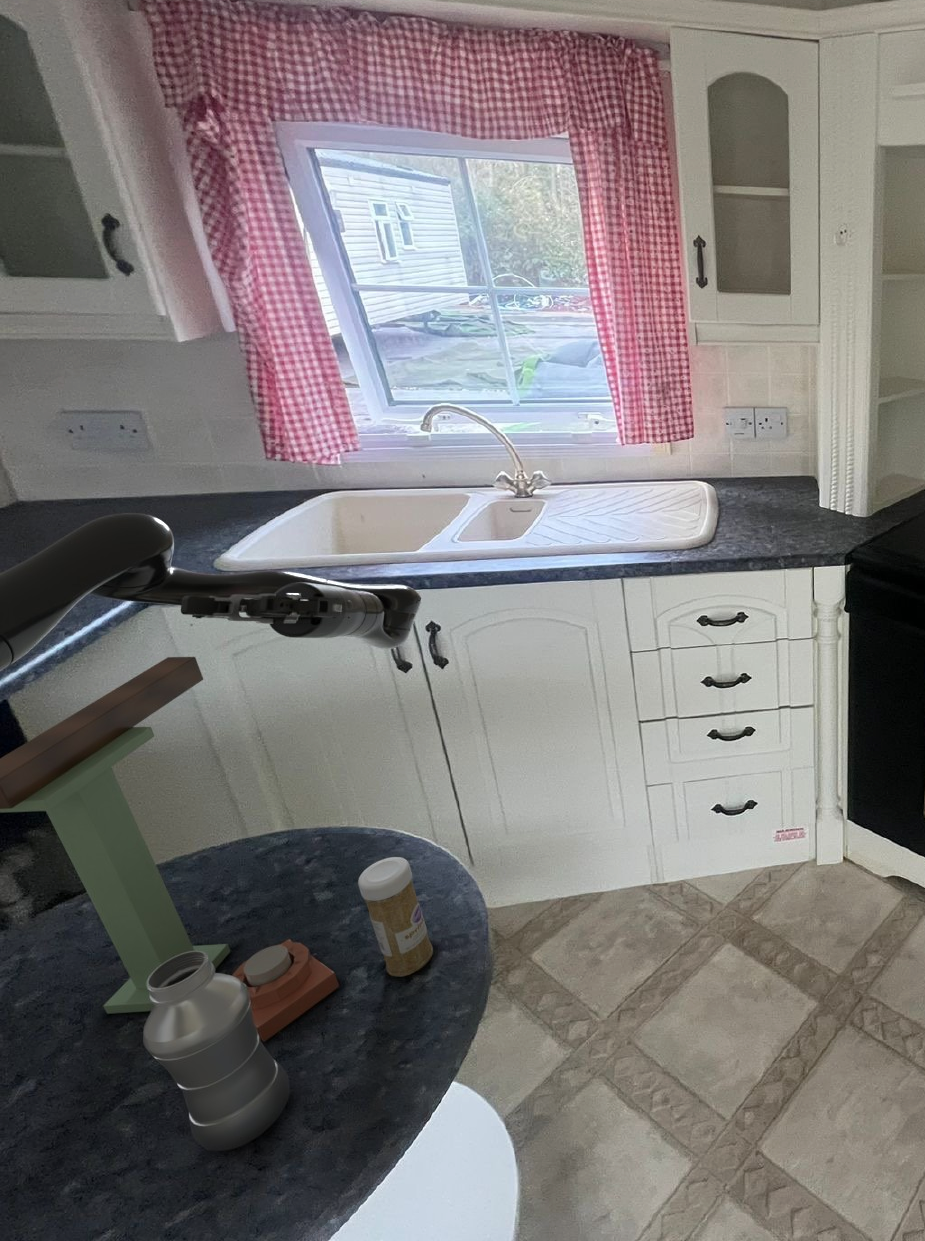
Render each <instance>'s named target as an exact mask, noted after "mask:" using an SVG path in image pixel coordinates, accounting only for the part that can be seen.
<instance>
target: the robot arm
mask: <svg viewBox="0 0 925 1241" xmlns="http://www.w3.org/2000/svg"><path fill="white" fill-rule="evenodd" d="M174 551H175V538H174V534H173V531H172V530H171V528H170V527H169V526H168V524H167V523H165V521H163V520H161V519H160V518H158V517H156V516H153V515H150V514H146V513H140V512H139V513H138V512H137V513H136V512H122V513H115V514H114V513H113V514H109V515H105V516H102V517H98V518H95V519H93V520H91V521H88V522H86V523H85V524H83V525H82V526H79V527H78V528H76V529H74V530H72V531H71V532H69V533H68V534H67V535H64V537H62V538H60V539H58V540H57V541H55V542H54V543H52V544H51V545H49V546H48V547H46V548H44V549H42V551H39V552H38V553H36V554H35V555H33V556H31V557H30V558H28V559H26V560H24V561H22V562H21V563H19V564H17V565H15V566H13V567H10V568H9V569H7V570H5V571H3V572H0V672H1V671H3V670H5V669H6V668H8V667H10V666H12V665H13V664H14V663H16V662H17V661H19V660H20V659H21V658H23V657H24V656H26V655H27V654H28V653H29V652H30V651H31V650H33V649H34V648H35V647H36V646H37V645H38V644H39V643H40V642H41V641H42V640H43V639H45V637H46V636H47V635H48V634H49V633H50V632H51V631H52V630H53V629H54V628H55V627H56V626H57V625H58V624H59V623H60V622H61V621H62V619H63V618H64V617H66V615H67V614H68V613H69V612H70V611H71V610H72V609H73V608H74V607H75V606H76V605H77V604H78V603H79V602H80V601H82V599H83V598H85V597H86V596H87V595H89V594H91V595H92V596H93V595H94V596H97V597H100V598H103V599H110V600H114V601H115V600H116V601H122V602H133V603H142V604H143V603H144V604H156V605H157V604H159V605H171V606H180V613H181V614H182V615H185V616H187V615H188V616H192V618H195V619H224V620H225V619H226V620H228V621H229V622H247V623H248V622H249V623H250V622H253V623H256V624H257V625H258V624H259V625H260V624H261V625H269V626H270V627H271V629H272V630H273V631H274V632H276V633H277V634H279V635H281V636H283V637H286V638H293V639H294V638H295V639H296V638H297V639H298V638H299V639H333V638H354V639H356V640H358V641H359V642H361V643H363V644H366V645H368V646H370V647H373V648H376V649H382V650H393V649H396V648H398V647H400V646H402V645H403V644H404V643H406V641H407V640H408V638H409V636H410V633H411V632H412V628H413V625H414V623H415V621H416V618H417V615H418V613H419V610H420V607H421V605H422V597H421V595H420V593H419V592H418V591H417V590H415V589H414V588H412V587H411V586H408V585H404V584H395V583H383V584H382V583H381V584H380V583H379V584H378V583H376V584H368V583H366V584H364V583H363V584H362V583H349V582H343V581H337V580H331V579H327V578H323V577H319V576H314V575H309V574H307V573H306V574H305V573H301V572H297V571H296V572H295V571H288V570H260V571H259V570H258V571H249V572H241V573H228V574H227V573H225V574H215V573H214V574H212V573H202V572H195V571H191V570H188V569H183V568H180V567H176V566H173V565H172V561H173V556H174ZM240 614H245V615H246V616H241V615H240Z"/></svg>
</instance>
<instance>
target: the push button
mask: <svg viewBox="0 0 925 1241" xmlns="http://www.w3.org/2000/svg"><path fill="white" fill-rule="evenodd" d="M248 959H249V960H248ZM248 959H247V960H248V961H247V960H246V961H247V962H246V964H245V965H244V968H243V971H244V974H245V976H246V979H247V981H248V983H249V984H250V985H251V986H254V987H260V986H263V985H266V984H268V983H271V982H274V981H275V980H277V979H278V978H280V977H281V976H283V975H284V974H286V973H287V971H288V970H289V969H290V967H291V964H292V960H291V958H290V955H289V952H288V950H287V948H286V947H284V946H281V945H279V944H276V945H271V946H268V947H266V948H263V949H260V950H259V951H258V952H257V951H256V953H254V954H253V955H252V956H250V958H248Z"/></svg>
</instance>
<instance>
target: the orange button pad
mask: <svg viewBox="0 0 925 1241" xmlns="http://www.w3.org/2000/svg"><path fill="white" fill-rule="evenodd" d="M278 945H281V946H284V947H286V948H287V950H288V952H289V955H290V958H291V960H292V964H291V967H290V969H289V970H288V971H287V973H286V974H284V975H283V976H281V977H280V978H278V979H277V980H275V981H274V982H271V983H268V984H266V985H263V986H260V987H254V986H251V985H250V984H249V983H248V981H247V979H246V976H245V974H244V971H243V968H244V965H245V964H246V962H247V961H248V960H249V959H250V958H248V959H246V960H245V961H244V962H243V963H242V964H240V965H239V967H237V969H236V970H235V971H234V972H233V973H232V975H231V976H234V977H236V978H237V979H239V980H240V981H242V982H243V983H244V984H245V985H246V986H247V989H248V992H249V995H250V1002H251V1008H252V1014H253V1020H254V1023H255V1026H256V1029H257V1031H258V1035H259V1037H260V1040H261V1042H262V1043H265V1042H266V1041H268V1040H270V1039H271V1038H272V1037H273V1036H274V1035H276V1034H277V1033H279V1032H280V1031H281V1030H283V1029H284V1028H285V1027H286V1026H288V1025H290V1024H291V1023H293V1021H295V1020H297V1019H298V1018H299V1017H300V1016H301V1015H303V1014H304V1013H306V1012H307V1011H308V1010H310V1009H311V1008H313V1007H314V1006H315V1005H316V1004H318V1003H319V1002H321V1001H322V1000H323V999H325V998H326V997H327V996H328V995H330V994H332V993H333V992H334V991H335V990H337V989H338V988H339V987H340V984H339V982H338V979H337V976H336V973H335V972H334V971H333V970H332V969H330V968H329V967H328V966H327V965H325V964H323V963H322V962H321V961H320V960H318V959H317V958H315V956H313V955H312V954H311V951H310V949H309V948H308V947H307V946H305V945H304V944H303V943H301V942H294V941H292V940H291V939H289V938H288V939H287V940H285V941H284V942H282V943H279V944H278Z"/></svg>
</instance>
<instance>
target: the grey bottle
mask: <svg viewBox="0 0 925 1241" xmlns="http://www.w3.org/2000/svg"><path fill="white" fill-rule="evenodd" d="M147 989H148V991H149V993H150V1000H151V1002H152V1004H153V1005H155V1006H154V1008H153V1009H152V1011H150V1012H149V1015H148V1017H147V1018H146V1020H145V1022H144V1025H143V1032H142V1033H143V1035H142V1043H143V1046H144V1048H145V1049H146V1051H147V1052H148V1053H149V1055H151V1056H152V1057H153V1058H154V1059H155V1060H156V1061H157V1062H158V1063H159V1064H160V1065H161V1066H162V1067H163V1068H164V1069H165V1070H166V1071H167V1072H168V1073H169V1075H170V1076H171V1077H172V1079H173V1081H174V1082H175V1083H176V1084H177V1086H178V1088H179V1089H180V1090H181V1093H182V1095H183V1098H184V1101H185V1104H186V1107H187V1110H188V1117H189V1118H188V1119H189V1126H190V1130H191V1134H192V1137H193V1139H194V1140H195V1141H196V1143H198V1144H199V1145H200V1146H202V1147H203V1148H204V1149H206V1150H208V1151H211V1152H223V1151H228V1150H229V1151H230V1150H234V1149H237V1148H240V1147H242V1146H244V1145H247V1144H248V1143H251V1142H252V1141H254V1140H255V1139H257V1138H258V1137H259V1136H261V1135H263V1134H264V1133H265V1132H266V1131H267V1130H268V1129H269V1128H270V1127H272V1126H273V1124H275V1122H276V1121H277V1120H278V1118H279V1117H280V1115H281V1114H282V1113H283V1111H284V1109H285V1108H286V1106H287V1103H288V1101H289V1099H290V1094H291V1089H290V1088H291V1087H290V1079H289V1074H288V1073H287V1071H286V1070H285V1069H284V1067H283V1066H282V1065H281V1064H280V1063H279V1062H278V1061H276V1059H274V1058H273V1057H272V1055H271V1054H270V1052H269V1051H268V1050H267V1048H266V1046H265V1045H264V1043H263V1041H262V1040H261V1039H260V1037H259V1035H258V1031H257V1029H256V1026H255V1023H254V1020H253V1014H252V1008H251V1002H250V995H249V992H248V989H247V986H246V985H245V984H244V983H243V982H242V981H240V980H239V979H237V978H236V977H234V976H232V975H230V974H226V973H220V972H216V969H215V967H214V965H213V963H211V962H210V960H209V957H208V955H207V954H206V953H205V952H204V951H199V950H195V951H189V952H185V953H182V954H179V955H177V956H175V957H173V958H171V959H169V960H167V961H166V962H164V963H163V964H161V965H160V966H159V967H157V968H156V969H155V970H154V971H153V972H152V973H151V974H150V976H149V977H148V979H147Z"/></svg>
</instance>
